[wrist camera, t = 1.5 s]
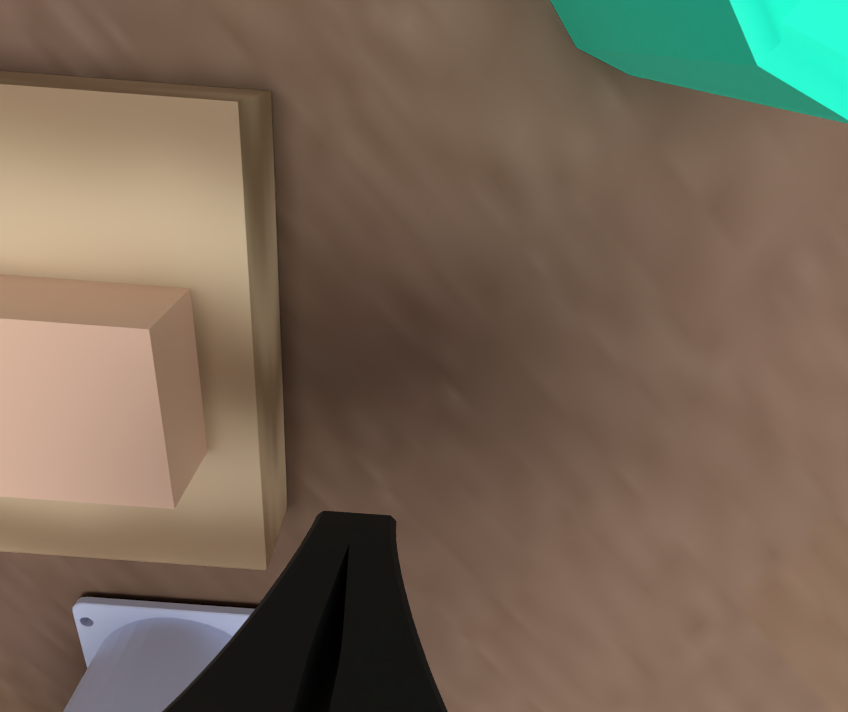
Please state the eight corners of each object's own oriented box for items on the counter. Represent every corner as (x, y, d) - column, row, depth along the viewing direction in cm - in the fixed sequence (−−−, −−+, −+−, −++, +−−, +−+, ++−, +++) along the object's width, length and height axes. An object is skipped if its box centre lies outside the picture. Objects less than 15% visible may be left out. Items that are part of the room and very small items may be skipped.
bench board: (287, 507, 23) (266, 570, 20) (-100, 479, 23) (-172, 538, 20) (271, 91, 17) (237, 101, 14) (-264, 51, 17) (-399, 54, 14)
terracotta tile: (207, 451, 18) (174, 509, 16) (33, 438, 18) (-24, 494, 16) (190, 288, 16) (149, 329, 14) (-9, 273, 16) (-82, 312, 14)
